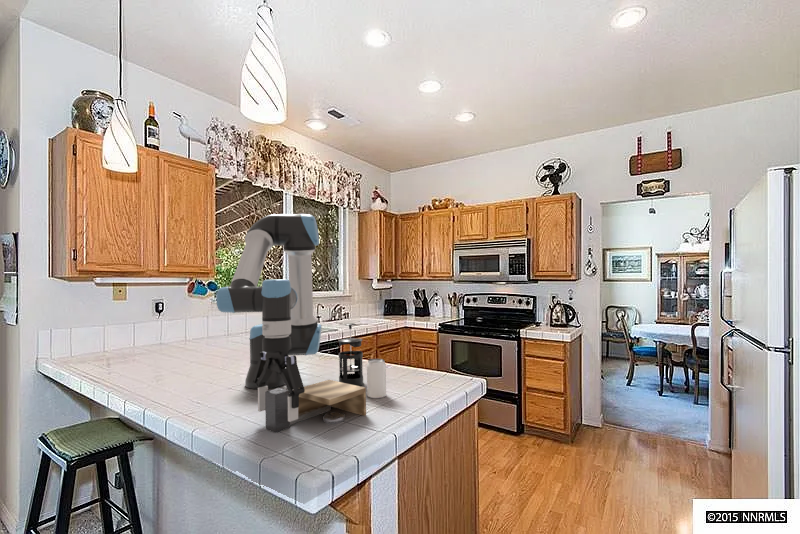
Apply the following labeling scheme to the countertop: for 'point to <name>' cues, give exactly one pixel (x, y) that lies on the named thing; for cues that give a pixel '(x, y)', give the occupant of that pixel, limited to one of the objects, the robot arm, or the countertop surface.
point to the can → (376, 378)
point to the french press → (354, 377)
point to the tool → (284, 410)
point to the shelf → (333, 397)
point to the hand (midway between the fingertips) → (277, 415)
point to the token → (333, 417)
